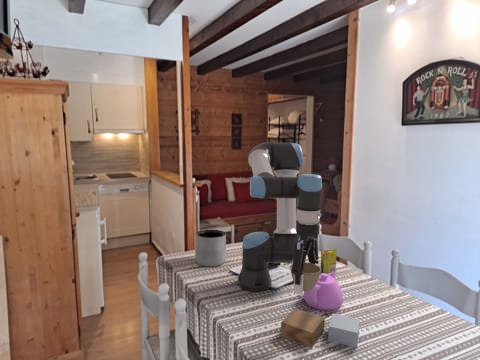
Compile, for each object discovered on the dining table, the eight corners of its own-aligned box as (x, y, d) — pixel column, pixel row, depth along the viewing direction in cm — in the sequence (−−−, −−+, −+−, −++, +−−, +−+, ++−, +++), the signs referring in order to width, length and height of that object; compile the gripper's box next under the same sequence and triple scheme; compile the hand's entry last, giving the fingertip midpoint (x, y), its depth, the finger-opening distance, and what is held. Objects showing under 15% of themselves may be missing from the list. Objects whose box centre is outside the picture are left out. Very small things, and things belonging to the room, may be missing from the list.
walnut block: (280, 336, 112) (281, 322, 112) (294, 321, 121) (295, 308, 121) (312, 347, 106) (312, 333, 106) (323, 331, 115) (324, 317, 115)
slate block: (328, 340, 110) (328, 326, 110) (332, 326, 119) (332, 313, 118) (356, 347, 107) (357, 333, 106) (358, 333, 115) (359, 319, 114)
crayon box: (332, 269, 171) (333, 247, 170) (336, 271, 168) (337, 249, 167) (319, 270, 169) (321, 248, 167) (323, 273, 166) (324, 250, 164)
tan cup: (320, 296, 106) (321, 274, 105) (288, 293, 108) (289, 271, 107) (319, 283, 116) (320, 263, 115) (290, 280, 118) (291, 260, 117)
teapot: (330, 320, 123) (332, 289, 121) (292, 306, 132) (293, 277, 131) (351, 298, 140) (353, 270, 139) (316, 287, 149) (317, 261, 148)
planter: (231, 260, 180) (232, 232, 178) (213, 270, 166) (213, 239, 164) (207, 254, 188) (208, 227, 186) (188, 263, 175) (188, 234, 173)
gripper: (305, 231, 98) (301, 304, 100) (330, 217, 116) (327, 278, 119) (281, 227, 102) (279, 297, 104) (310, 214, 120) (307, 273, 123)
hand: (304, 287), depth 112 cm, fingers closed on tan cup, 10 cm apart
